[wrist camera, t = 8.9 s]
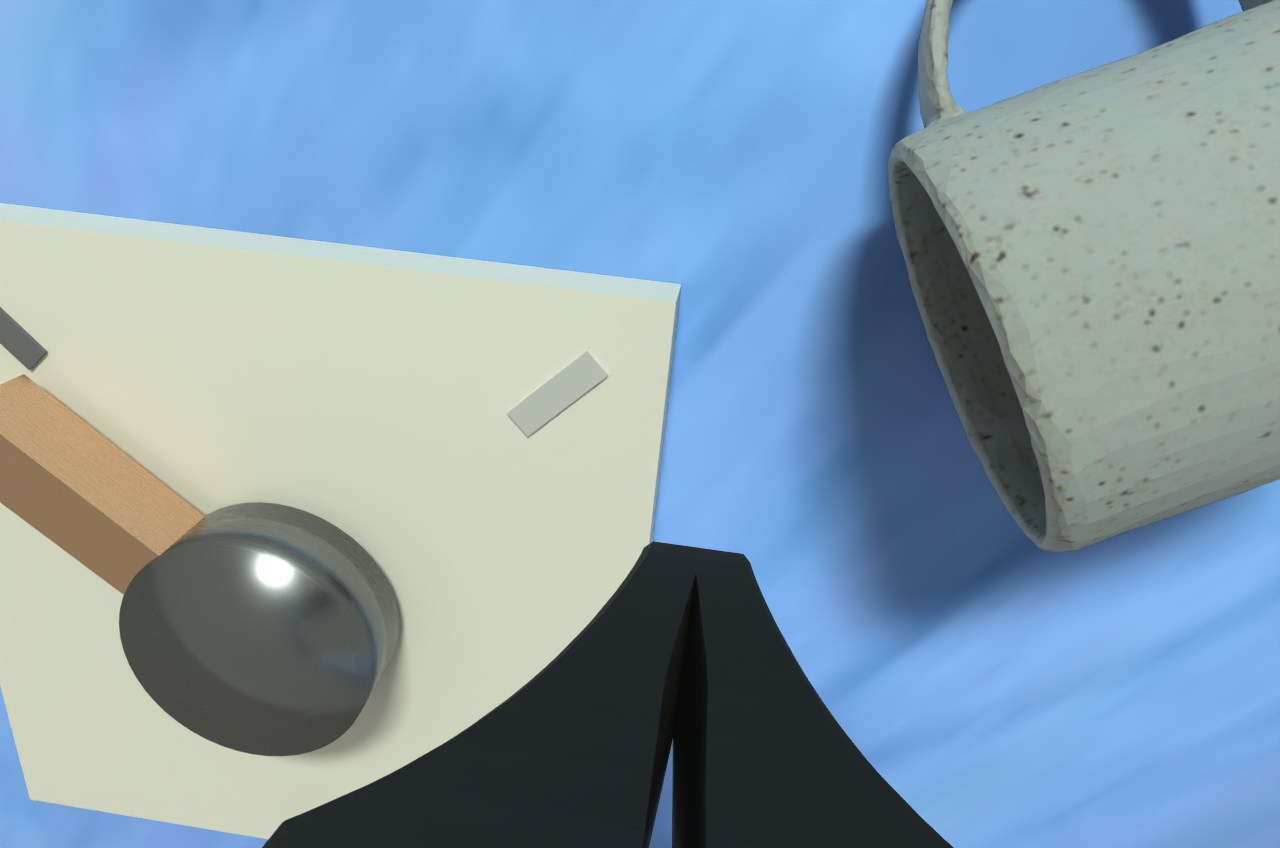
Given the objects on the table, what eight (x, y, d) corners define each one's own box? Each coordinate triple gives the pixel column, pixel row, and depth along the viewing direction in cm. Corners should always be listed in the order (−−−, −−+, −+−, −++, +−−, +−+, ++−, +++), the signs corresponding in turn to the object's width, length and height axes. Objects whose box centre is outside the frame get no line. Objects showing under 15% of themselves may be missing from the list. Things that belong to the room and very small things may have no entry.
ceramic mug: (1353, 317, 18) (1731, 476, 11) (963, 447, 20) (1075, 650, 13) (1255, -234, 15) (1697, -498, 8) (803, -12, 17) (839, -66, 10)
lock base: (616, 853, 27) (609, 899, 25) (65, 762, 28) (27, 801, 27) (680, 284, 20) (676, 303, 18) (-68, 194, 21) (-129, 205, 19)
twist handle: (446, 614, 22) (418, 666, 20) (313, 736, 24) (276, 794, 22) (69, 307, 19) (-1, 334, 18) (-40, 473, 22) (-113, 512, 20)
